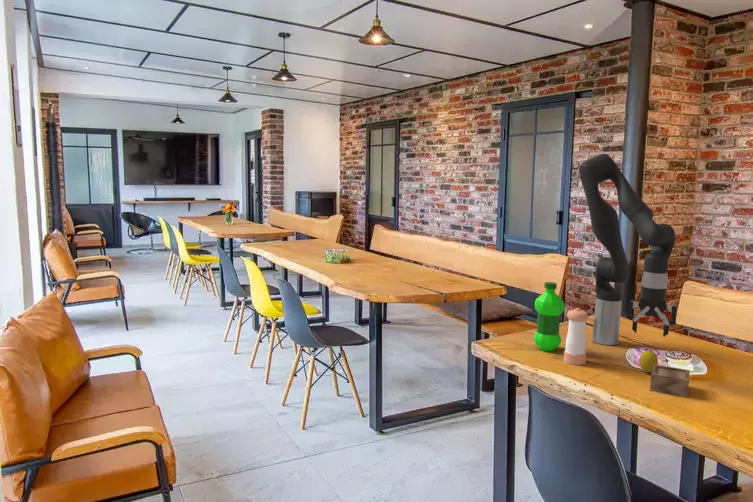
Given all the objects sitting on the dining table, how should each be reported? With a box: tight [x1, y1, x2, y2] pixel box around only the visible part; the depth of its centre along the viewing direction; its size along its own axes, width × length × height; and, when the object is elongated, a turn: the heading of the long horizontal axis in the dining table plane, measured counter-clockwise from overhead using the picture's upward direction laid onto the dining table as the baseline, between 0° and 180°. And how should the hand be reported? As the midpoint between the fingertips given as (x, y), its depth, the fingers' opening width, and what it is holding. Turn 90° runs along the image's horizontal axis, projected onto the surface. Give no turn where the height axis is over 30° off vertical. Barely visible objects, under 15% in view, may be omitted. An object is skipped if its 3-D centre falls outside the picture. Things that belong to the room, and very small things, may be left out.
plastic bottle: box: [533, 281, 565, 352], centre depth 206 cm, size 10×10×25 cm
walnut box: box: [649, 364, 690, 398], centre depth 171 cm, size 10×10×6 cm
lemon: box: [639, 348, 659, 374], centre depth 184 cm, size 6×6×8 cm
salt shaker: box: [563, 307, 589, 366], centre depth 193 cm, size 7×7×19 cm
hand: (649, 334), depth 182 cm, fingers open, 8 cm apart
